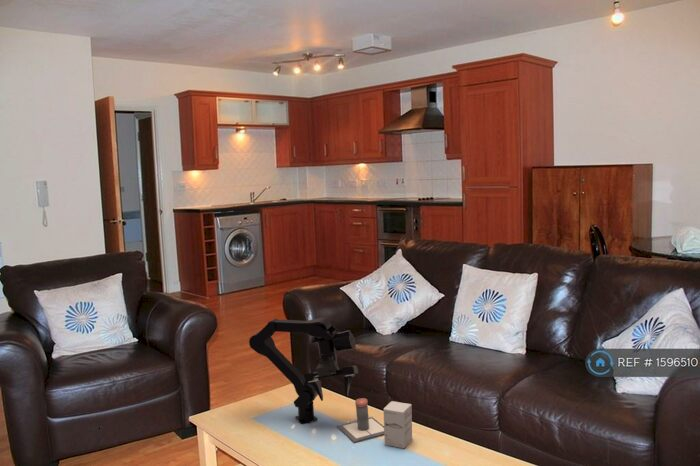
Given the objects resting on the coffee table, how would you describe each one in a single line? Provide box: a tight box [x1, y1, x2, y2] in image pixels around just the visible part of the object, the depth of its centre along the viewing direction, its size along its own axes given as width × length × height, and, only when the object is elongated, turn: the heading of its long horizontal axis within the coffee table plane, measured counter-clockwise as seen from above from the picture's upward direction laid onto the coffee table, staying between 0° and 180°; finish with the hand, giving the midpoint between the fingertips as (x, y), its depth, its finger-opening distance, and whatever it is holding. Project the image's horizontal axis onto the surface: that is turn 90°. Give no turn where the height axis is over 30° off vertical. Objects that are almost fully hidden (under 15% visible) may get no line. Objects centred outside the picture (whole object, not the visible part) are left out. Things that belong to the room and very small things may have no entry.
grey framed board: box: [336, 416, 384, 444], centre depth 206 cm, size 14×14×1 cm
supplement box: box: [383, 400, 413, 449], centre depth 196 cm, size 7×7×13 cm
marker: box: [354, 397, 370, 431], centre depth 206 cm, size 4×4×10 cm
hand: (334, 398), depth 208 cm, fingers open, 9 cm apart
